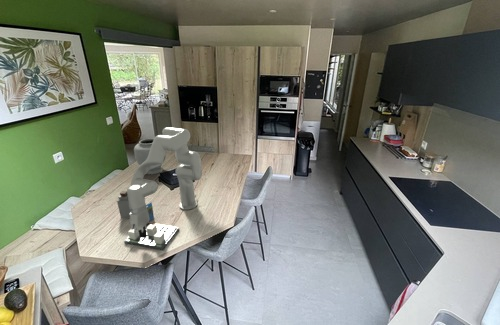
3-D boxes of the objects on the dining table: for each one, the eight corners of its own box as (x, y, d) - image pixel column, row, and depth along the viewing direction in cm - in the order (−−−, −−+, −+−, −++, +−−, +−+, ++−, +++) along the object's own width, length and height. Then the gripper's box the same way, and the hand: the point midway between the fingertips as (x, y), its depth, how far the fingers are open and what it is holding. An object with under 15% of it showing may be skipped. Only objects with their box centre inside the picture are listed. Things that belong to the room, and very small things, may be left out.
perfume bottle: (126, 212, 162) (121, 189, 156) (136, 213, 162) (131, 189, 156) (121, 218, 156) (115, 194, 149) (131, 218, 156) (126, 194, 149)
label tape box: (150, 216, 159) (147, 200, 154) (154, 218, 157) (151, 202, 152) (138, 223, 152) (135, 206, 147) (143, 225, 150) (139, 208, 145)
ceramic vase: (171, 172, 224) (167, 142, 213) (141, 179, 210) (135, 147, 199) (163, 163, 244) (159, 135, 233) (135, 169, 230) (129, 139, 219)
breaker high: (158, 238, 135) (157, 231, 134) (165, 239, 135) (164, 232, 133) (154, 243, 132) (153, 236, 130) (161, 244, 131) (160, 237, 129)
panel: (144, 224, 151) (143, 220, 150) (179, 230, 146) (178, 226, 145) (124, 243, 134) (123, 239, 133) (163, 250, 130) (162, 246, 129)
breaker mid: (151, 231, 142) (150, 223, 140) (157, 232, 141) (156, 224, 139) (147, 235, 138) (145, 228, 136) (153, 236, 137) (152, 229, 135)
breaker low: (134, 234, 139) (132, 227, 137) (140, 235, 138) (138, 228, 136) (129, 238, 135) (127, 231, 133) (135, 240, 134) (134, 232, 132)
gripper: (141, 200, 132) (145, 227, 139) (121, 214, 118) (128, 244, 125) (153, 201, 131) (157, 229, 137) (135, 216, 117) (140, 246, 124)
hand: (143, 236), depth 131 cm, fingers closed
